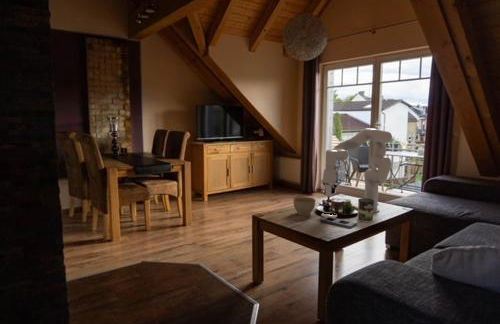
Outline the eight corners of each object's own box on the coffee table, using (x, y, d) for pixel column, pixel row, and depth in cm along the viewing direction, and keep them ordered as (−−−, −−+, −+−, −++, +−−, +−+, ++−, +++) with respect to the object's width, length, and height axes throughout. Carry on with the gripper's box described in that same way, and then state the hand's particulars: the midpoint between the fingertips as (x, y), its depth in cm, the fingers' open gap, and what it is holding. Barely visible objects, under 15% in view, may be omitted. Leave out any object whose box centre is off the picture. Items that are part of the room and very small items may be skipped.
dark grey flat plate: (327, 218, 254) (327, 216, 254) (356, 225, 240) (356, 223, 239) (320, 221, 248) (320, 219, 248) (350, 228, 233) (350, 226, 233)
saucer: (326, 212, 267) (326, 211, 267) (339, 215, 260) (339, 214, 260) (318, 216, 259) (318, 215, 259) (331, 219, 252) (331, 218, 252)
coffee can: (375, 221, 247) (376, 201, 245) (361, 222, 245) (362, 202, 243) (368, 217, 257) (369, 197, 255) (354, 218, 255) (355, 198, 253)
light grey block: (328, 194, 260) (329, 183, 259) (334, 195, 257) (334, 184, 256) (325, 195, 257) (325, 184, 256) (331, 196, 254) (331, 185, 253)
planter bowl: (308, 218, 254) (309, 203, 252) (288, 214, 263) (289, 200, 261) (319, 213, 266) (319, 199, 264) (299, 209, 276) (300, 195, 274)
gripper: (344, 168, 251) (343, 193, 254) (323, 165, 262) (322, 190, 265) (339, 169, 246) (338, 195, 249) (317, 166, 257) (316, 192, 260)
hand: (330, 192), depth 257 cm, fingers closed on light grey block, 4 cm apart
